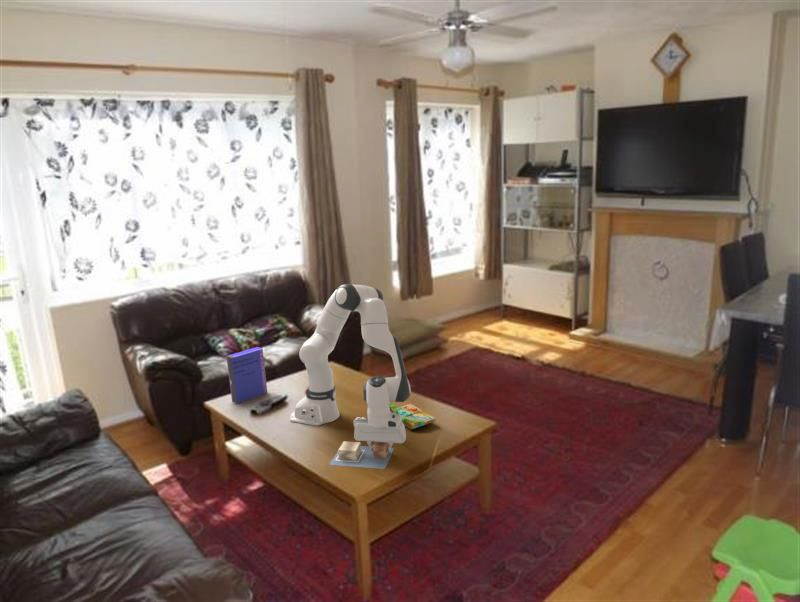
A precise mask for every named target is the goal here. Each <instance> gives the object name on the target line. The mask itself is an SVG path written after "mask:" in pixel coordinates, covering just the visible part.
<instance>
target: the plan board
mask: <svg viewBox="0 0 800 602" xmlns="http://www.w3.org/2000/svg"><path fill="white" fill-rule="evenodd" d="M394 450H395V447H391V452H389V453H388V455H387V457H386V458H373V451H371V450H370V447H369V445H368V446H367V445H361V453H360V455H359V457H358V458H357V460H342V459H339V453H338V451H337V452H336V453H335V455H334V456H333V458H332V459H331V460H330V463H329V464H328V465H329V466H338V467H339V466H341V467H354V468H369V469H379V470H380V469H381V470H385V469H386V468H387V467H388V463H389V461H390V460H391V457H392V455H393V452H394Z"/></svg>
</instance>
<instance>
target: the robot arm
mask: <svg viewBox="0 0 800 602" xmlns="http://www.w3.org/2000/svg"><path fill="white" fill-rule="evenodd" d="M351 312H357V313H359V314H360V327H361V328H360V329H361V336H362V339H363V341H364V343H366V344H367V345H368V346H370V347H373V348H376V349H378V350H381V351H385V352H386V353H388V355H390V357H391V358H392V363H393V367H394V372H395V376H391V377H390V376H389V377H384V376H382V375H375V376H370V377H369V378H368V379H367V380H366V381H365V382H364V384H363V386H362V390H363V392H362V393H363V400H364V402H366V404H367V410H366V415H367V417H360V416H357V417H356V418H354V419H353V421H352V422H353V427H354V430H353V431H354V432H353V438H354V440H355V441H356V442H366V444H367V445H368V446H369V447H370V450H371V451H373V444H374V442H387V443H388V446H387V448H386V450H387V452H391V448H393V447H392V446H393V445H394V444H404V443H405V441H406V440H407V431H406V426H405V425H404V424H403V423H402V416H401V415H398V414H396V413H393V412H391V411H390V408H389V403H390V402H391V403H393V402H395V403H404V402H405V401H407V400H408V399H409V398H410V396H411V391H412V390H411V384H410V381H409V379H408V376H407V373H406V367H405V363H404V360H403V355H402V351H401V348H400V345H399V341H398V338H397V337H396V336H394V335H392V334H393V333H391V331H390V327H389V320H388V319H389V318H388V312H387V307H386V304H385V302H384V295H383V293H382V291H381V290H380V289H378V288H376V287H374V286H368V285H365V284H351V283H344V284H341V285H339V287H337V289H335V290H334V292H333V293H332V294H331V295H330V297H329V298H328V300H327V302H326V304H325V306H324V307H323V309H322V311H321V313H320V315H319V317H318V319H317V323H316V324H317V325H316V328H315V330H314V333H313V334H312V335H311V336H310V337H309V338H308V339H306V340H305V341H304V342H303V344H302V346H301V347H300V348H299V351H298V352H299V354H298V356H299V359H300V360H301V362H302V363H303V364H304V366H305V368H306V372H307V376H308V377H307V379H308V386H307V388H306V389H305V391H304V395H305V396H304V397H303V398H301V399H300V400H299V401H297V403H296V405H295V408H294V411H293V412H292V413H291V414H290V416H289V421H290V422H292V423H296V424H297V423H299V424H304V425H305V424H306V425H311V426H317V427H318V426H321V425H324V424H329V423H331V422H333V421H334V422H335V420H337V419H338V418H340V415H341V414H340V412H339V409H338V405H337V402H336V401H337V400H336V397H337V396H336V388H335V387H336V386H335V384H334V383H335V382H334V371H333V369H332V368H331V366H330V363H329V358H328V357H329V355H330V354H331V353H332V351H334V350H335V347H336V344H337V342H338V340H339V337H340V334H341V332H342V330H343V329H344V328H343V327H345V326H344V325H345V324H346V322H347V320H348V318H349V316H350V314H351ZM372 442H373V443H372Z"/></svg>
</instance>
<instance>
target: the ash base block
mask: <svg viewBox="0 0 800 602" xmlns="http://www.w3.org/2000/svg"><path fill="white" fill-rule="evenodd" d="M361 442H362V441H342V443H341V444H340V447H339V448H338V449H337V452H338V453H339V459H342V460H357V458H358V457H359V455H360V453H361V446H362V443H361Z"/></svg>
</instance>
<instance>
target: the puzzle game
mask: <svg viewBox="0 0 800 602" xmlns="http://www.w3.org/2000/svg"><path fill="white" fill-rule="evenodd" d="M396 408H397V410H398V412H399V415H401V416H402V423H403V424H404V426H405V428H408V429H409V430H414V429H417V428H419V427H423V426H426V425H430V424H431V423H434V422H436V421H437V419H436V418H435V417H433V416H432V415H430V414H428V413H427V412H425V410H422V409H420V408H419V407H417V405H416V406H415V405H414V404H413V403H408V404H405V405H402V406H399V407H396Z"/></svg>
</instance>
